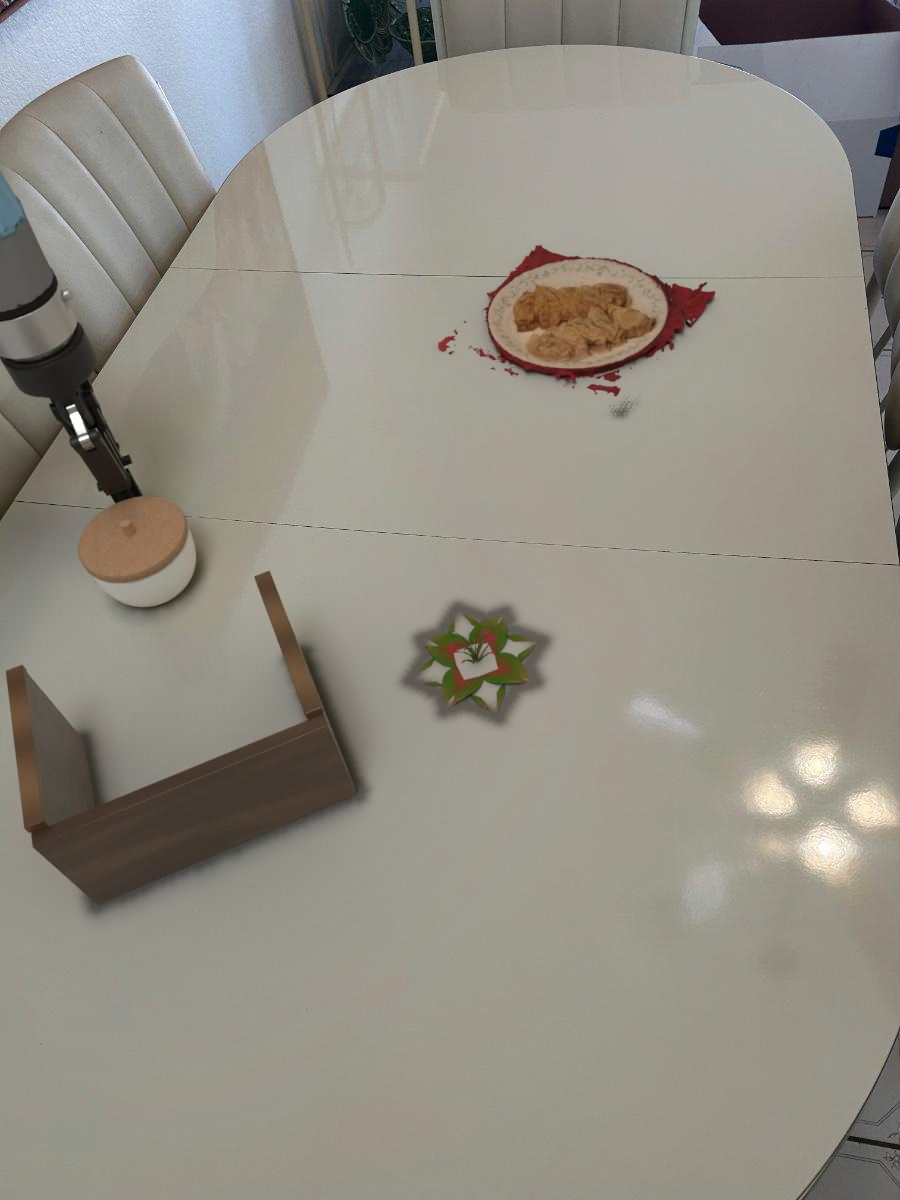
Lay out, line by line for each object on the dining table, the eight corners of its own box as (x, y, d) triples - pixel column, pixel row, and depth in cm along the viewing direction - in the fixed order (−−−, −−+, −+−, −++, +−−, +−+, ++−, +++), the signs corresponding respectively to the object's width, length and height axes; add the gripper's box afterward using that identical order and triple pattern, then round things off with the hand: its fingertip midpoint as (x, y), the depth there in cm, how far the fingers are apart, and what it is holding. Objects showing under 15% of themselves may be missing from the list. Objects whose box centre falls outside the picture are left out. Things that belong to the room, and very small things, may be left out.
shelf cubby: (73, 748, 86) (5, 670, 76) (305, 656, 89) (269, 570, 79) (99, 909, 76) (25, 843, 66) (360, 798, 79) (326, 719, 69)
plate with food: (539, 257, 127) (537, 233, 124) (715, 301, 115) (717, 277, 112) (436, 357, 116) (432, 334, 114) (618, 417, 105) (618, 393, 102)
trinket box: (230, 562, 98) (201, 499, 91) (168, 638, 92) (131, 578, 85) (151, 534, 102) (118, 472, 95) (87, 606, 96) (46, 546, 89)
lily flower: (505, 740, 81) (501, 712, 77) (388, 691, 85) (379, 663, 82) (563, 638, 87) (562, 608, 83) (451, 597, 91) (445, 567, 88)
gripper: (91, 362, 79) (187, 546, 97) (70, 287, 87) (162, 470, 105) (3, 393, 78) (117, 573, 96) (-11, 314, 85) (97, 494, 104)
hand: (140, 519), depth 100 cm, fingers closed
